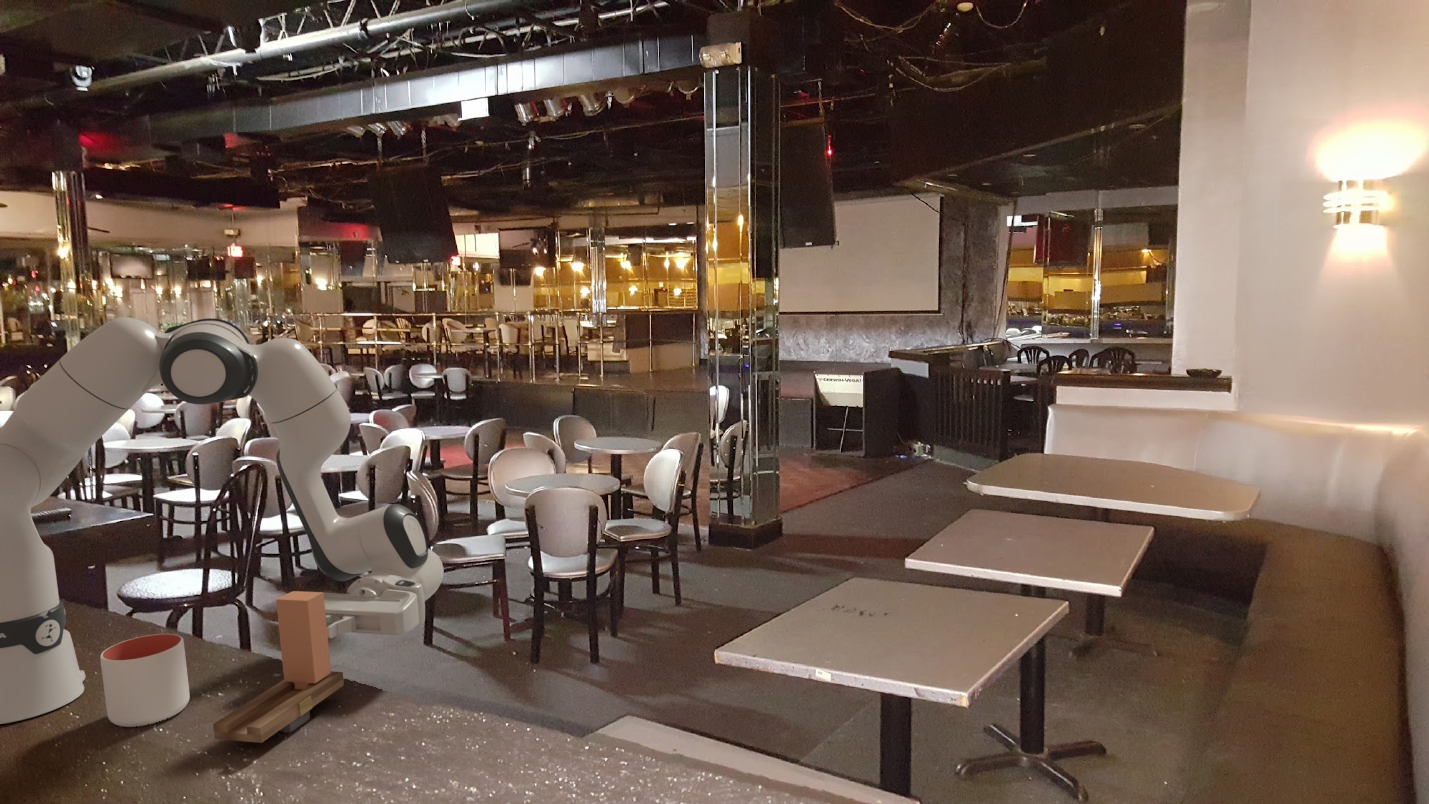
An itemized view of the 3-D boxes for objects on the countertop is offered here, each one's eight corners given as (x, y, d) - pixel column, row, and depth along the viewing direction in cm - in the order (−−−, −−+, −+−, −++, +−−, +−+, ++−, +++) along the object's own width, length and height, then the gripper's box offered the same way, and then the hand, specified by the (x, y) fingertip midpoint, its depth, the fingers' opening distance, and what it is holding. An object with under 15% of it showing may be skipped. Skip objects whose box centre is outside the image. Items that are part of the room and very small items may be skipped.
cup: (152, 733, 123) (143, 662, 122) (90, 728, 125) (81, 659, 124) (206, 700, 133) (199, 634, 132) (148, 696, 135) (141, 632, 134)
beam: (215, 753, 117) (212, 723, 117) (302, 695, 134) (299, 669, 133) (264, 757, 115) (261, 728, 115) (346, 698, 132) (343, 672, 131)
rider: (285, 689, 128) (276, 599, 127) (301, 678, 132) (292, 591, 130) (316, 691, 127) (307, 600, 126) (331, 680, 131) (323, 592, 129)
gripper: (317, 579, 148) (257, 609, 134) (431, 584, 143) (380, 615, 130) (320, 616, 148) (261, 649, 135) (434, 622, 144) (384, 657, 130)
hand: (320, 633), depth 132 cm, fingers closed
